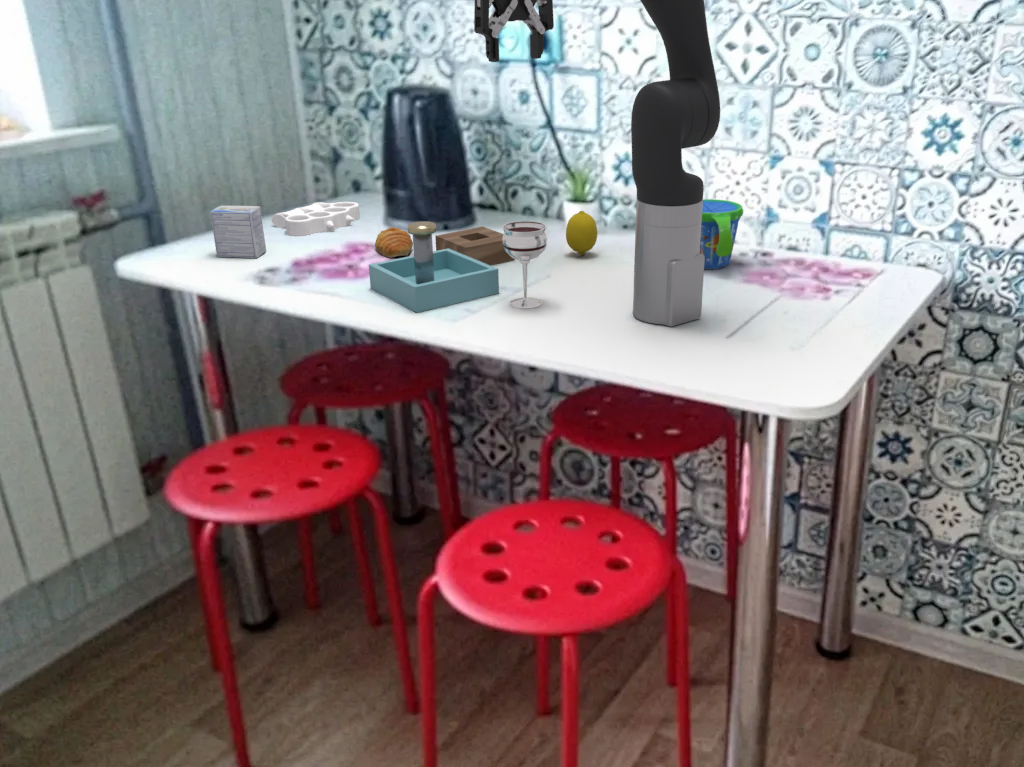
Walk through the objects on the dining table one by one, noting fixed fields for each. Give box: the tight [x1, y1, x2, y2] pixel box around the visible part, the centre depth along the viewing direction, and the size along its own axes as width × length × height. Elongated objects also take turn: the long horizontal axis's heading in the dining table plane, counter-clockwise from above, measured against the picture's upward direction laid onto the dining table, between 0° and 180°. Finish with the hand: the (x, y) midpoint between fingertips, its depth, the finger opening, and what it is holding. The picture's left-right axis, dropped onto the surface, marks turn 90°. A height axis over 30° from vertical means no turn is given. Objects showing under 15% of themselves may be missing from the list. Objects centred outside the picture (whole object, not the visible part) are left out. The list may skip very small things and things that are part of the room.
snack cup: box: [700, 198, 744, 270], centre depth 163 cm, size 16×10×10 cm
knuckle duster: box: [271, 201, 361, 237], centre depth 195 cm, size 3×18×15 cm
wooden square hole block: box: [435, 226, 516, 266], centre depth 170 cm, size 10×10×4 cm
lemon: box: [565, 210, 598, 256], centre depth 170 cm, size 6×6×8 cm
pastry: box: [374, 227, 413, 259], centre depth 176 cm, size 9×7×4 cm
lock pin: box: [407, 220, 437, 284], centre depth 152 cm, size 4×4×10 cm
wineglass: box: [501, 220, 548, 309], centre depth 146 cm, size 7×7×12 cm
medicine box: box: [209, 205, 267, 259], centre depth 175 cm, size 8×4×9 cm, turn 80°
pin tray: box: [368, 248, 500, 314], centre depth 154 cm, size 15×15×4 cm
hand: (515, 60), depth 160 cm, fingers open, 8 cm apart
